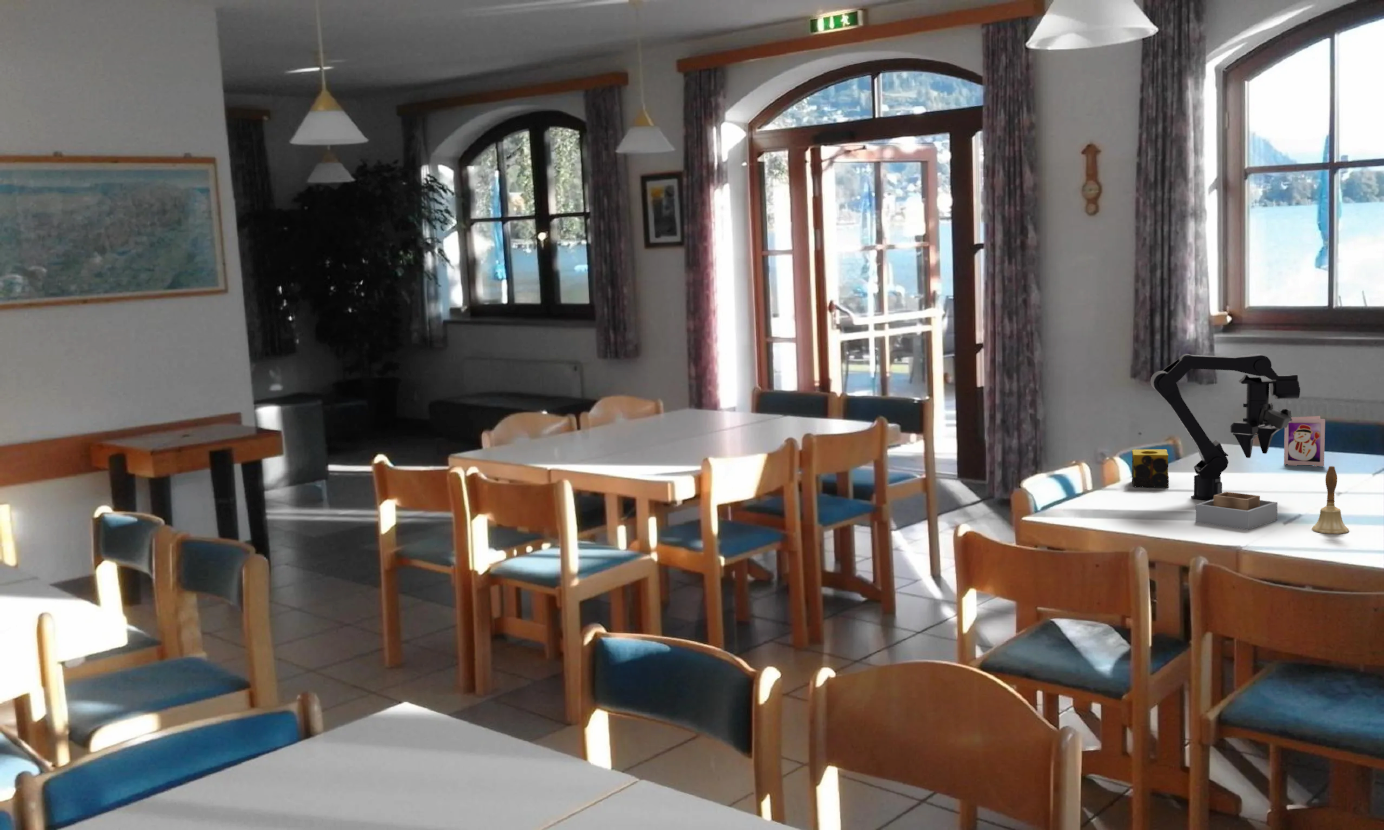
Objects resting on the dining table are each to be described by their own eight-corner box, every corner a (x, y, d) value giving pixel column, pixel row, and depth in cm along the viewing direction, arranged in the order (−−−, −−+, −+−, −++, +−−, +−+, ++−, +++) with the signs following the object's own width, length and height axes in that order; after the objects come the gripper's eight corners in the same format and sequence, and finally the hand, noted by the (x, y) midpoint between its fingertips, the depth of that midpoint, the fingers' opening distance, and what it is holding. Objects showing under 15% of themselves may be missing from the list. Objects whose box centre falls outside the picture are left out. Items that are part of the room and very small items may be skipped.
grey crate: (1195, 523, 335) (1195, 504, 335) (1225, 514, 345) (1225, 495, 344) (1248, 531, 325) (1248, 511, 324) (1277, 521, 334) (1277, 502, 333)
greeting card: (1283, 465, 409) (1284, 418, 407) (1286, 461, 415) (1287, 414, 414) (1323, 467, 403) (1324, 419, 401) (1326, 463, 409) (1327, 416, 408)
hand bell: (1304, 527, 324) (1306, 464, 322) (1336, 526, 325) (1338, 463, 323) (1323, 535, 316) (1325, 470, 314) (1356, 533, 317) (1358, 468, 315)
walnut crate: (1213, 518, 336) (1213, 495, 335) (1225, 514, 340) (1226, 491, 339) (1247, 523, 329) (1247, 499, 328) (1259, 518, 333) (1259, 495, 333)
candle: (1167, 482, 390) (1167, 449, 389) (1169, 488, 380) (1169, 454, 379) (1131, 481, 393) (1131, 448, 391) (1132, 487, 383) (1133, 454, 382)
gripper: (1269, 405, 346) (1268, 463, 348) (1302, 398, 357) (1301, 454, 360) (1229, 402, 354) (1228, 459, 356) (1263, 395, 366) (1262, 450, 368)
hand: (1256, 455), depth 360 cm, fingers open, 9 cm apart
